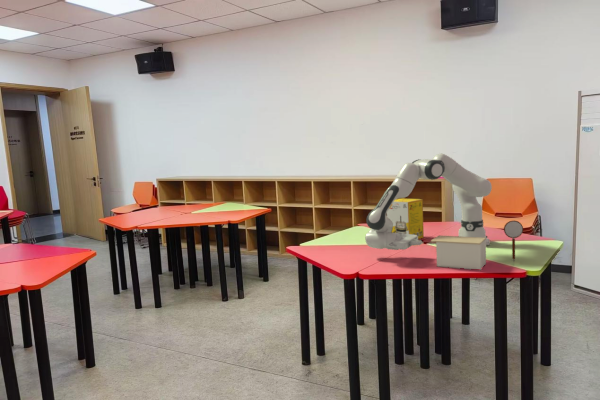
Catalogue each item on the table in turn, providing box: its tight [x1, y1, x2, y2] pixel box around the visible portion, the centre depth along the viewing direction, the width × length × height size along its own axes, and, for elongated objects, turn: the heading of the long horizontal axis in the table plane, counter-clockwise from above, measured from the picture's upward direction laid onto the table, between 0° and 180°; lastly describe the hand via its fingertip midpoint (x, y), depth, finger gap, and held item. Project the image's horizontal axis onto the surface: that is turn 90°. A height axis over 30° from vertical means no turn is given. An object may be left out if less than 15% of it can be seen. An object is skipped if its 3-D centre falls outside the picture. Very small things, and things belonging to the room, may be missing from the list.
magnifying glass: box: [503, 220, 524, 262], centre depth 215 cm, size 9×2×20 cm, turn 77°
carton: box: [435, 239, 487, 271], centre depth 214 cm, size 13×20×12 cm, turn 57°
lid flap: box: [430, 235, 486, 245], centre depth 214 cm, size 14×22×1 cm, turn 57°
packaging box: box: [386, 198, 425, 240], centre depth 284 cm, size 16×16×25 cm
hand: (421, 242), depth 224 cm, fingers closed
